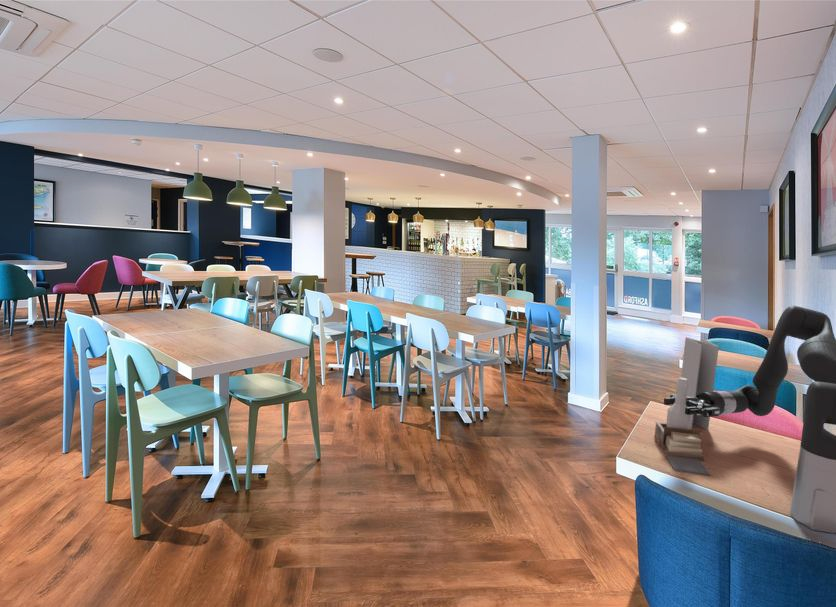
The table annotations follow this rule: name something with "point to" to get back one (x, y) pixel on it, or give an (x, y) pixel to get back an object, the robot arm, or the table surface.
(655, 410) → the table surface
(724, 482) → the table surface
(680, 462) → the mat
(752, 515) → the table surface
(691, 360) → the brochure
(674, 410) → the low poly bottle
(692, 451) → the offcut rack
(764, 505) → the table surface
